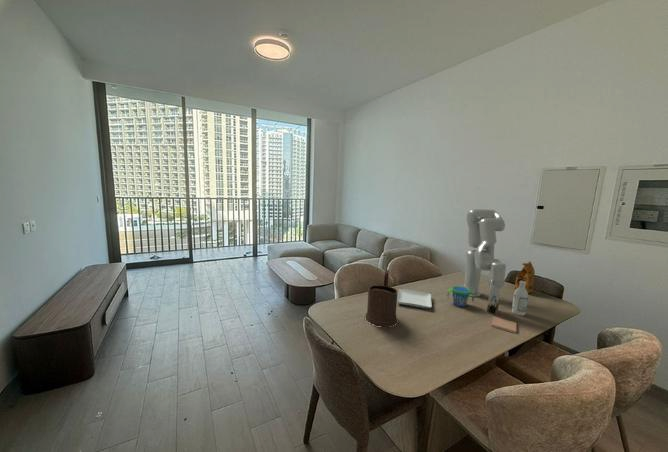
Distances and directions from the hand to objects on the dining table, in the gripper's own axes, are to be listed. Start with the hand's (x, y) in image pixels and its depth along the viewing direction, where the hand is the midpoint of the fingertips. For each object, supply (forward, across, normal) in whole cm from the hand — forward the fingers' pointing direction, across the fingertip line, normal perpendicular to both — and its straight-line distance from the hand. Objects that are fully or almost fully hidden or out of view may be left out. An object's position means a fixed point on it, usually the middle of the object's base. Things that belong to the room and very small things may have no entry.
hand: (492, 309), depth 156 cm
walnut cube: (+2, 0, 0) cm, 2 cm away
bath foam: (+2, -9, +13) cm, 16 cm away
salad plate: (+2, +15, -43) cm, 46 cm away
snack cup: (+2, +1, -18) cm, 18 cm away
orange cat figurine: (+2, -54, +16) cm, 57 cm away
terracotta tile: (+2, +14, +6) cm, 15 cm away
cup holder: (+2, +47, -51) cm, 69 cm away
